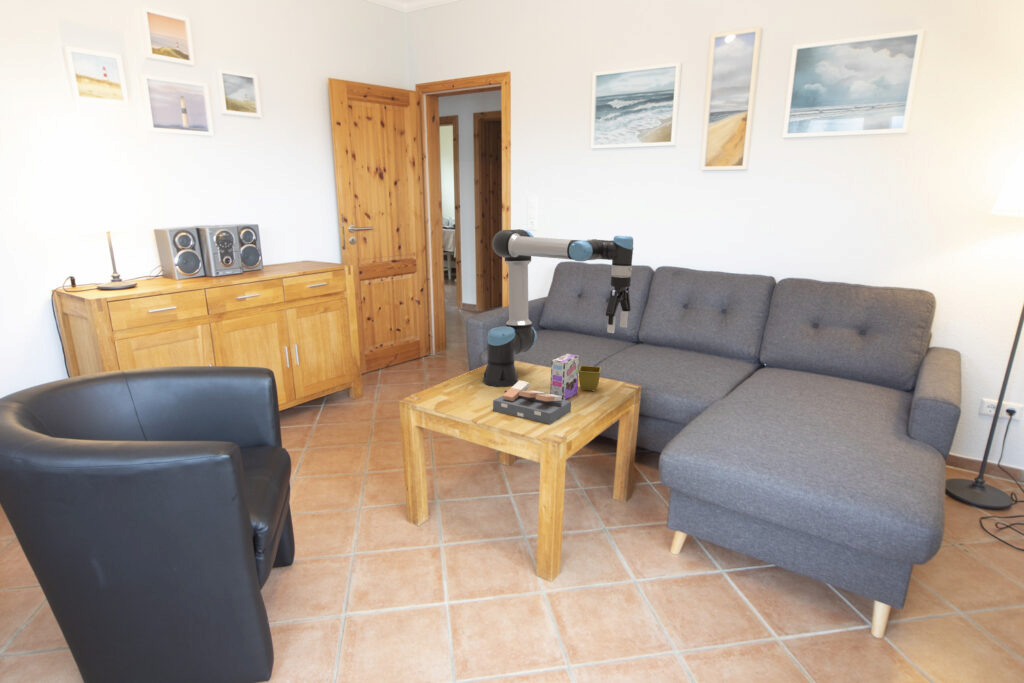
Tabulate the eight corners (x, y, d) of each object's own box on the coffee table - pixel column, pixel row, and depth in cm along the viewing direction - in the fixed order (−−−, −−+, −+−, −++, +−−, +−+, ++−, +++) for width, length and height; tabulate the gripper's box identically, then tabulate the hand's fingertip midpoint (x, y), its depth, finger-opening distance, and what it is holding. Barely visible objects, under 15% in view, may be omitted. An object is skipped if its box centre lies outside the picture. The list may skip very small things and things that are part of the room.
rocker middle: (518, 395, 202) (519, 390, 202) (534, 394, 212) (535, 390, 212) (529, 397, 199) (529, 393, 199) (544, 397, 210) (545, 392, 210)
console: (492, 410, 207) (492, 396, 205) (515, 399, 220) (516, 385, 219) (549, 424, 194) (550, 409, 193) (570, 411, 207) (571, 397, 206)
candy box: (562, 402, 217) (564, 362, 213) (549, 400, 220) (550, 359, 216) (578, 393, 228) (579, 354, 225) (565, 391, 231) (566, 352, 228)
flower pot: (598, 393, 229) (600, 372, 227) (577, 391, 231) (578, 370, 229) (599, 387, 238) (601, 366, 236) (579, 385, 240) (580, 365, 238)
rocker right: (535, 399, 198) (536, 394, 198) (550, 398, 208) (551, 394, 208) (546, 401, 196) (547, 396, 196) (561, 400, 206) (562, 396, 206)
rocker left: (503, 399, 206) (502, 395, 206) (519, 384, 215) (519, 380, 215) (513, 401, 204) (512, 397, 203) (529, 386, 213) (529, 382, 212)
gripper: (618, 279, 204) (614, 336, 209) (641, 274, 225) (636, 326, 230) (599, 278, 208) (595, 333, 213) (623, 273, 229) (619, 323, 233)
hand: (617, 329), depth 221 cm, fingers open, 13 cm apart
